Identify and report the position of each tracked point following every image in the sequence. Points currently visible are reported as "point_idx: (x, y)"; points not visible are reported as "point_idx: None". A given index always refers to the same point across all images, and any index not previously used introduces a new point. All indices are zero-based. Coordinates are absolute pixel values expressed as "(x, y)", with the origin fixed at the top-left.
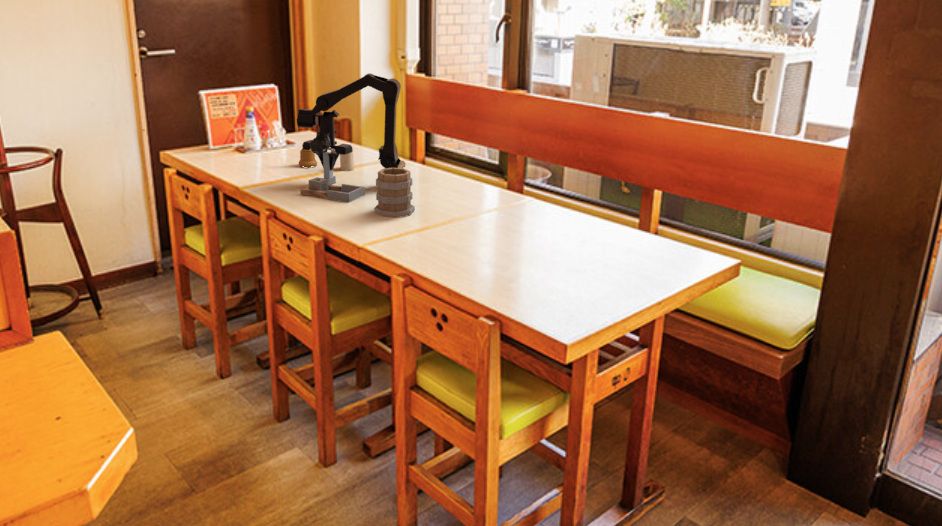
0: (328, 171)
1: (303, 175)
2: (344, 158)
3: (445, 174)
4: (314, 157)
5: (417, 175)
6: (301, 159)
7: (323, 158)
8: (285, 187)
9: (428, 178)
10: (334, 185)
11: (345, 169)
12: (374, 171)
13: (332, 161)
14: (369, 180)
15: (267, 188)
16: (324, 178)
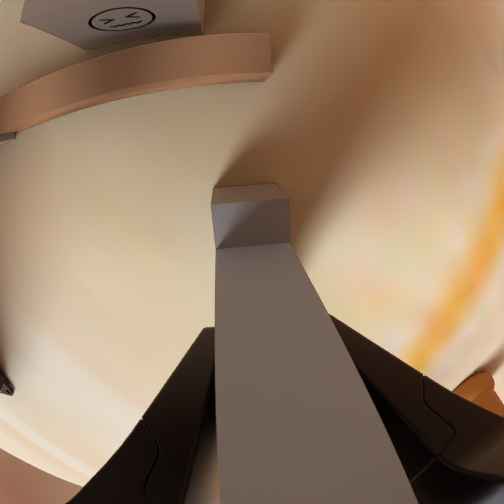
0: (228, 291)
1: (468, 307)
2: None
3: (51, 473)
4: None
5: (75, 467)
6: (493, 392)
7: (381, 447)
8: (452, 30)
9: (33, 450)
10: (47, 112)
11: None
12: None
13: (128, 439)
14: (112, 410)
15: (489, 3)
16: (270, 226)
